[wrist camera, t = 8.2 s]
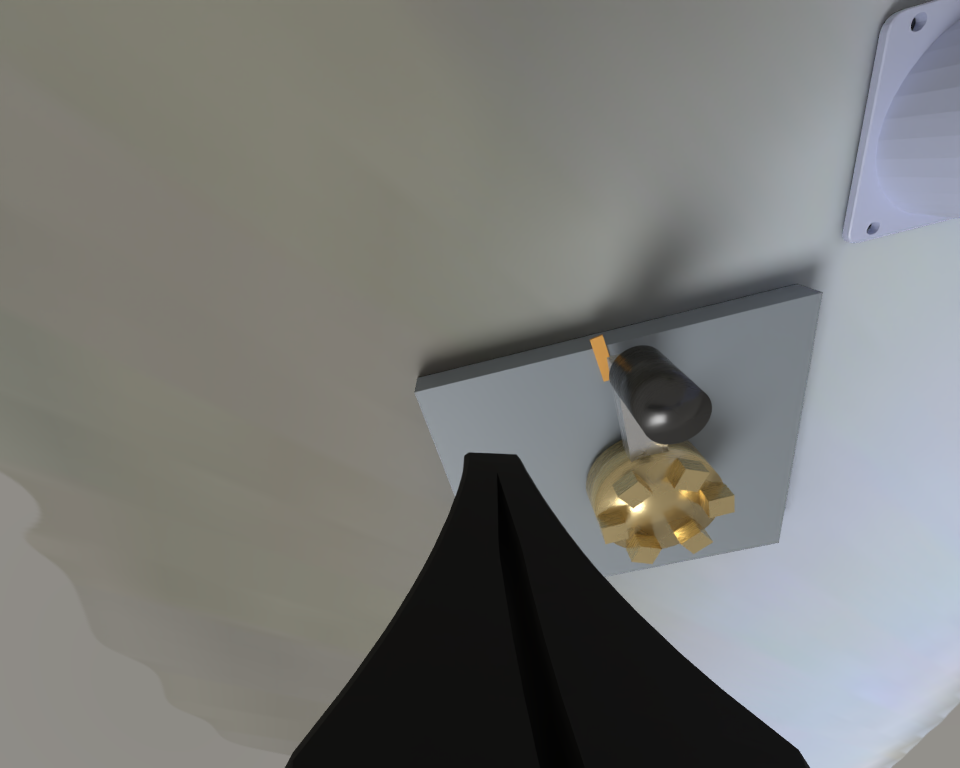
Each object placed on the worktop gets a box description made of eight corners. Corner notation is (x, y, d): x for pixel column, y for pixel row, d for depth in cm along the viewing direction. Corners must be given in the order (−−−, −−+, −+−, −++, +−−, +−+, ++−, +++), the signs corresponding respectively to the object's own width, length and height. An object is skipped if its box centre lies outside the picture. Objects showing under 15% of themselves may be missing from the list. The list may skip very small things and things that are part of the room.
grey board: (799, 271, 18) (826, 279, 17) (763, 524, 27) (779, 544, 25) (413, 367, 20) (410, 382, 19) (493, 578, 28) (494, 599, 27)
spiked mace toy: (703, 502, 23) (763, 585, 18) (596, 530, 24) (628, 615, 19) (691, 309, 17) (773, 359, 13) (549, 353, 18) (579, 415, 13)
